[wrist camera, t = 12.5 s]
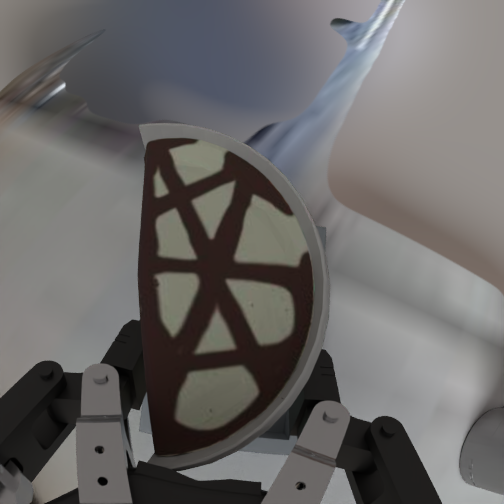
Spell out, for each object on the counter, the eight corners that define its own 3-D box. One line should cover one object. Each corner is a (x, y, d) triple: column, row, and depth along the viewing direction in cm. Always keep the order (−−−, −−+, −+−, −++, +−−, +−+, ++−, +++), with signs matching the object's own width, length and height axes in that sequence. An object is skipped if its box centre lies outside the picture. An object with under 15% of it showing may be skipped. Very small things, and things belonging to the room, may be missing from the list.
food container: (302, 417, 16) (376, 457, 7) (193, 430, 15) (147, 487, 6) (272, 221, 20) (299, 103, 11) (177, 230, 20) (140, 115, 11)
